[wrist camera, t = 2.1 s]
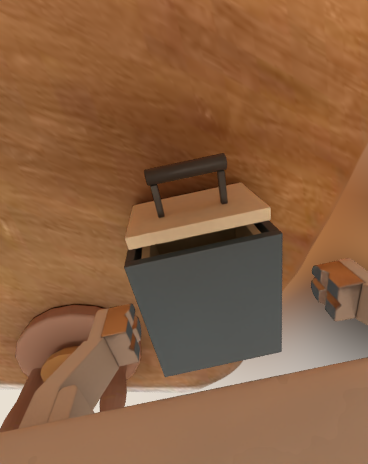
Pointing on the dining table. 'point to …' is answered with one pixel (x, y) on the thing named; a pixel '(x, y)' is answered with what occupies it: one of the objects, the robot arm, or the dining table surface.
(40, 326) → the hourglass
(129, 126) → the dining table surface
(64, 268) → the dining table surface
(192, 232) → the drawer
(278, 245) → the cabinet
